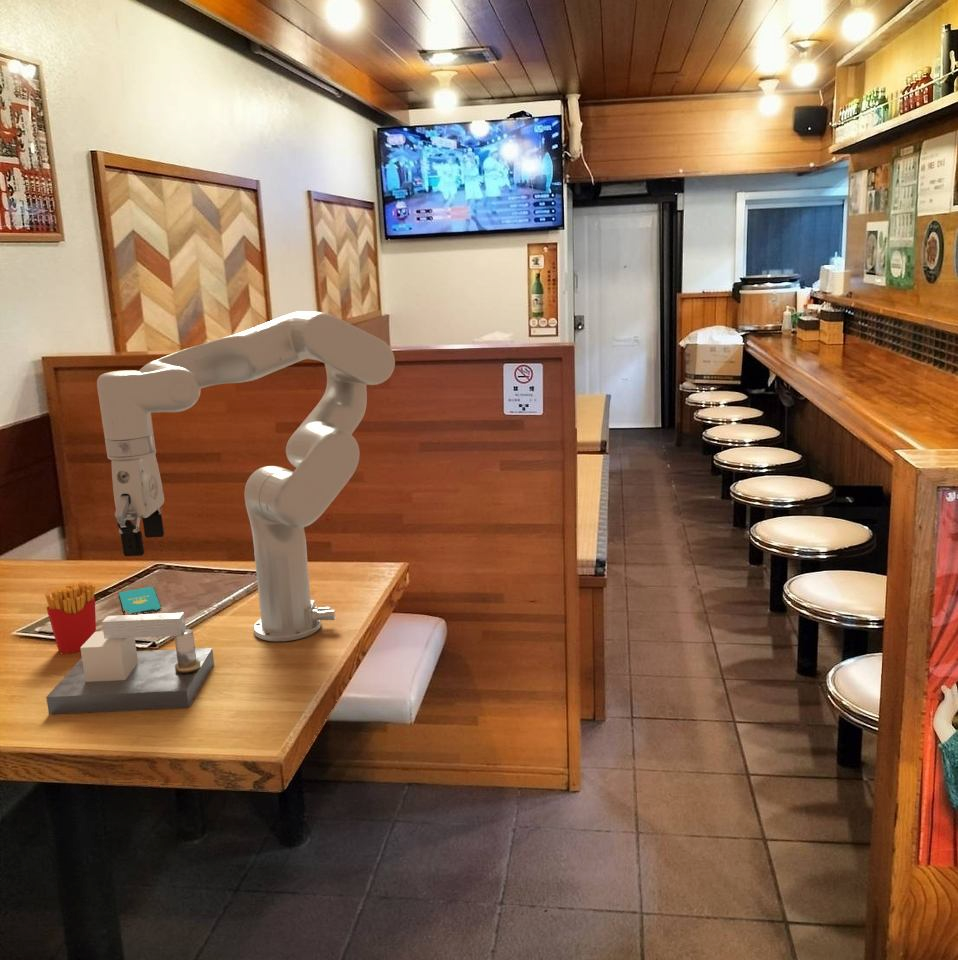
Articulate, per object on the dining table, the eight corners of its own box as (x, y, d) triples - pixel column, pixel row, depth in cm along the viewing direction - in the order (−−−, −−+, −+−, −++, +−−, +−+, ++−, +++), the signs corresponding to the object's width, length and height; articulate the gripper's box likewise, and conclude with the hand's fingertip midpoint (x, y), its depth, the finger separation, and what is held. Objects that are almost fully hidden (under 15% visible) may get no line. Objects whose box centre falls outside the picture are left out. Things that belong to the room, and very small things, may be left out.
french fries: (57, 657, 166) (47, 594, 163) (51, 650, 169) (41, 589, 166) (105, 643, 171) (96, 583, 168) (98, 637, 174) (90, 577, 171)
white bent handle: (203, 661, 154) (197, 610, 152) (196, 672, 150) (190, 619, 148) (116, 665, 154) (109, 614, 152) (107, 676, 150) (100, 623, 148)
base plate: (214, 663, 161) (212, 647, 160) (188, 707, 145) (186, 690, 144) (88, 669, 160) (85, 653, 160) (49, 714, 145) (46, 697, 144)
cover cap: (138, 662, 155) (133, 629, 154) (125, 679, 149) (120, 645, 147) (100, 664, 155) (95, 631, 154) (85, 681, 149) (80, 647, 147)
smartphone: (153, 585, 199) (162, 607, 186) (153, 588, 199) (162, 611, 186) (117, 592, 196) (124, 615, 183) (118, 595, 197) (124, 619, 183)
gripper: (134, 457, 142) (149, 562, 146) (170, 435, 158) (183, 529, 163) (86, 459, 142) (102, 564, 146) (127, 437, 158) (140, 531, 163)
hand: (144, 545), depth 154 cm, fingers open, 9 cm apart
